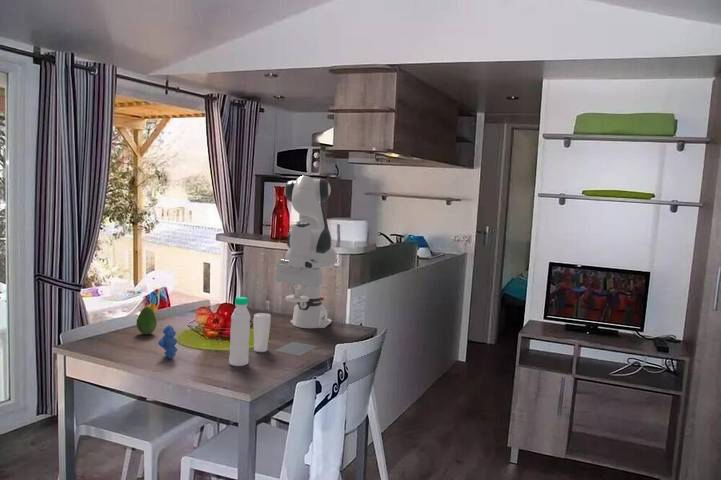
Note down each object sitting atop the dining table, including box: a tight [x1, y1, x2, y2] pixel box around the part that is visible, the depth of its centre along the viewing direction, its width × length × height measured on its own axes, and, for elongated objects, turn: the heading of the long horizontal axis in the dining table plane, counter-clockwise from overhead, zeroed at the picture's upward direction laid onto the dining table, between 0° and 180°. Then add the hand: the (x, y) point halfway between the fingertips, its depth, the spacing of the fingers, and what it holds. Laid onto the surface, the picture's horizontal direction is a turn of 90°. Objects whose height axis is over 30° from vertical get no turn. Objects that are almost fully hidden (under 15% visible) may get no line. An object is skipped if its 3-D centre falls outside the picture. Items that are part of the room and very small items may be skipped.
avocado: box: [136, 306, 157, 336], centre depth 235 cm, size 8×8×12 cm
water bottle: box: [228, 296, 251, 367], centre depth 203 cm, size 7×7×25 cm
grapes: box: [157, 324, 178, 360], centre depth 205 cm, size 12×7×12 cm, turn 35°
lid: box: [285, 288, 309, 303], centre depth 224 cm, size 10×10×4 cm
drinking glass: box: [252, 312, 272, 353], centre depth 221 cm, size 7×7×15 cm
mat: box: [273, 341, 318, 357], centre depth 227 cm, size 16×12×1 cm
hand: (297, 295), depth 224 cm, fingers closed on lid, 3 cm apart
